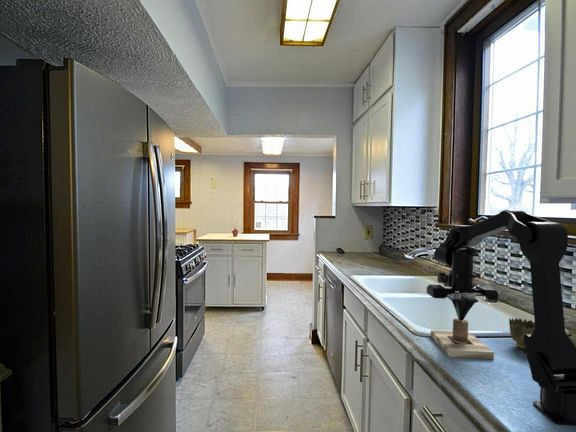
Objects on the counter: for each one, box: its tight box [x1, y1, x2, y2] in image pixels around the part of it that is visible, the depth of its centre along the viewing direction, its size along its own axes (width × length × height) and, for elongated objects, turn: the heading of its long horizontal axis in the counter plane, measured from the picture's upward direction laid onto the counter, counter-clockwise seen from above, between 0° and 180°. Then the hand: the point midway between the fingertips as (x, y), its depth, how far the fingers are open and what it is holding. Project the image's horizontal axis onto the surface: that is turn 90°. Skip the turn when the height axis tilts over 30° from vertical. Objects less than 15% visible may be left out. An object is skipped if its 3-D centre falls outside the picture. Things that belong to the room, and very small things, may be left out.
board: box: [430, 329, 495, 360], centre depth 94 cm, size 14×12×2 cm
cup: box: [508, 317, 535, 351], centre depth 94 cm, size 8×7×8 cm
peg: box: [452, 318, 469, 344], centre depth 94 cm, size 4×4×8 cm
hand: (460, 320), depth 94 cm, fingers closed
